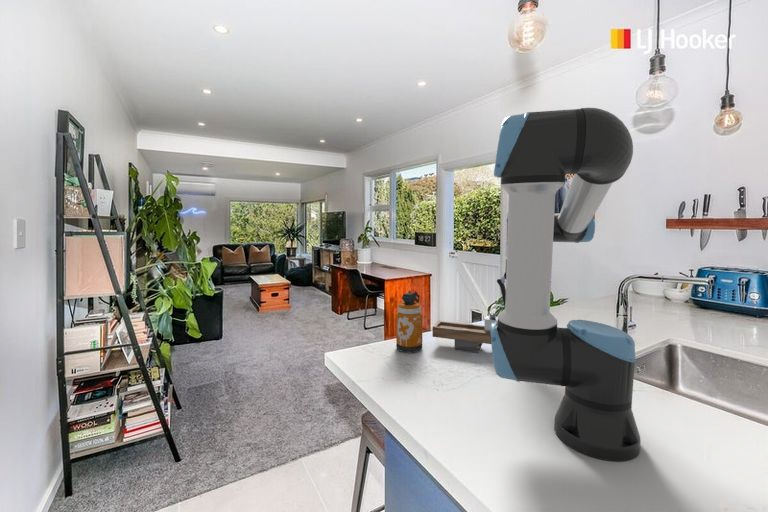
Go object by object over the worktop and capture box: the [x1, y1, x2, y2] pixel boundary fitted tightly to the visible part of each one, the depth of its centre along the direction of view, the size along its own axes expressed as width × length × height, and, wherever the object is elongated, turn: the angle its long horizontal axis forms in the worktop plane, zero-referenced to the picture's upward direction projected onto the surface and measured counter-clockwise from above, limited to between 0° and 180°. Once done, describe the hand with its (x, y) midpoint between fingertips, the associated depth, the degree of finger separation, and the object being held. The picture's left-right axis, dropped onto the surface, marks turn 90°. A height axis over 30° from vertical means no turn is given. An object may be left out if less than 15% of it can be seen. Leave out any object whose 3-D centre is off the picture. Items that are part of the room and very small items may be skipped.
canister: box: [395, 290, 423, 353], centre depth 125 cm, size 9×11×20 cm
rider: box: [484, 312, 498, 333], centre depth 120 cm, size 4×4×6 cm
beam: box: [431, 320, 492, 354], centre depth 124 cm, size 8×23×8 cm, turn 66°
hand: (516, 330), depth 117 cm, fingers closed
